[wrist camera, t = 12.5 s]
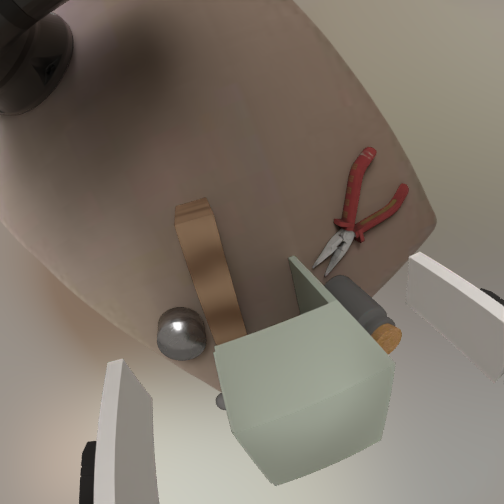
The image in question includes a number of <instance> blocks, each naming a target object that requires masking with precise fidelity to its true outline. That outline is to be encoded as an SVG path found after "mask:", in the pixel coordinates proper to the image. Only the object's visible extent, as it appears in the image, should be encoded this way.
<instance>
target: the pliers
mask: <svg viewBox="0 0 504 504" xmlns="http://www.w3.org/2000/svg"><path fill="white" fill-rule="evenodd" d="M375 155H376V150H375V149H374V148H372V147H367V148H365V149H364V150H363V151H362V152H361V154H360V155H359V157H358V158H357V159H356V161H355V162H354V163H353V165H352V167H351V170H350V174H349V178H348V183H347V190H346V196H345V202H344V208H343V214H342V219H334V223H335V224H337V225H338V226H340V227H341V229H340V230H339V231H338V232H337V233H336V234H335V235H334V236H333V237H332V238H331V239H330V241H329V242H328V243H327V245H326V247H325V248H324V250H323V251H322V253H321V254H320V256H319V257H318V259H317V260H316V262H315V263H314V265H313V266H312V268H315V267H316V266H317V265H318V264H320V263H321V262H322V261H323V260H324V259H326V258H327V257H328V256H329V255H331V254H332V253H333V252H334V253H333V256H332V258H331V261H330V263H329V266H328V268H327V271H326V273H325V275H324V276H325V277H326V276H327V275H328V274H329V272H330V271H331V270H332V269H333V268H334V267H335V265H336V264H337V263H338V262H339V261H340V259H341V258H342V257H343V256H344V254H345V253H346V252H347V250H348V248H349V246H350V244H351V242H352V240H353V238H355V240H356V241H358V242H359V243H362V242H363V241H364V236H363V233H364V232H366V231H368V230H369V229H371V228H372V227H374V226H376V225H377V224H379V223H381V222H382V221H384V220H385V219H387V218H389V217H390V216H392V215H393V214H394V213H395V212H396V211H397V210H398V209H399V208H400V206H401V205H402V203H403V201H404V199H405V198H406V196H407V194H408V192H409V188H408V186H407V185H406V184H401V185H400V186H399V188H398V190H397V192H396V193H395V195H394V197H393V198H392V200H391V201H390V202H389V203H388V204H387V205H386V206H385V207H384V208H382V209H380V210H379V211H377V212H375V213H374V214H372V215H370V216H369V217H367V218H365V219H363V220H362V221H360V222H358V223H357V224H355V218H356V213H357V207H358V201H359V196H360V189H361V183H362V179H363V175H364V173H365V170H366V168H367V167H368V166H369V164H370V163H371V161H372V160H373V158H374V157H375ZM341 242H342V245H341V246H340V247H337V246H338V245H339V244H340V243H341Z"/></svg>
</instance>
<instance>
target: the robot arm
mask: <svg viewBox="0 0 504 504" xmlns="http://www.w3.org/2000/svg"><path fill="white" fill-rule="evenodd" d="M67 1H69V0H0V114H6V115H17V114H21V113H24V112H27V111H29V110H31V109H32V108H34V107H36V106H37V105H38V104H40V103H41V102H42V101H43V100H44V99H46V98H47V97H48V96H49V94H50V93H51V92H52V91H53V90H54V89H55V87H56V86H57V85H58V83H59V82H60V80H61V78H62V77H63V75H64V73H65V71H66V69H67V67H68V64H69V61H70V58H71V54H72V49H73V36H72V32H71V29H70V27H69V26H68V24H67V23H66V22H65V21H64V20H63V19H62V18H61V17H60V16H58V15H57V14H55V13H52V11H54V10H55V9H57V8H58V7H59V6H61V5H63V4H64V3H66V2H67ZM406 304H407V305H408V306H409V307H410V308H411V309H413V310H414V311H415V312H416V313H417V314H418V315H420V316H421V317H422V318H423V319H424V320H426V321H427V322H428V323H429V324H430V325H431V326H432V327H434V328H435V329H436V330H437V331H438V332H439V333H440V334H441V335H443V336H444V337H445V338H446V339H447V340H448V341H449V342H450V343H451V344H453V345H454V346H455V347H456V348H457V349H458V350H459V351H460V352H461V353H463V354H464V355H465V356H466V357H467V358H468V359H469V360H470V361H471V362H472V363H473V364H474V365H475V366H476V367H477V368H478V369H480V370H481V371H482V372H483V373H484V374H485V375H486V376H487V377H488V378H489V379H490V380H491V381H492V382H493V383H495V382H496V381H497V380H498V379H499V378H500V377H501V376H502V375H503V374H504V300H503V299H500V297H498V296H497V295H496V294H494V293H493V292H491V291H488V290H485V289H482V288H481V289H478V288H477V287H475V286H474V285H472V284H471V283H469V282H468V281H466V280H464V279H463V278H462V277H460V276H459V275H457V274H455V273H454V272H452V271H451V270H449V269H447V268H446V267H444V266H443V265H441V264H439V263H438V262H436V261H434V260H433V259H431V258H430V257H428V256H426V255H425V254H423V253H421V252H418V253H416V254H414V255H412V256H410V257H409V265H408V281H407V294H406ZM152 408H153V407H152V397H151V396H150V395H149V393H148V392H147V391H146V389H145V388H144V387H143V386H142V384H141V383H140V382H139V380H138V379H137V378H136V376H135V375H134V373H133V372H132V371H131V370H130V368H129V366H128V365H127V363H126V362H125V361H124V359H119V360H115V361H111V362H108V363H107V369H106V374H105V380H104V386H103V393H102V400H101V406H100V415H99V422H98V431H97V441H91V442H87V444H86V447H85V449H84V451H83V453H82V462H81V466H82V468H81V477H80V495H79V504H159V498H158V489H157V479H156V467H155V454H154V438H153V409H152Z"/></svg>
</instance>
